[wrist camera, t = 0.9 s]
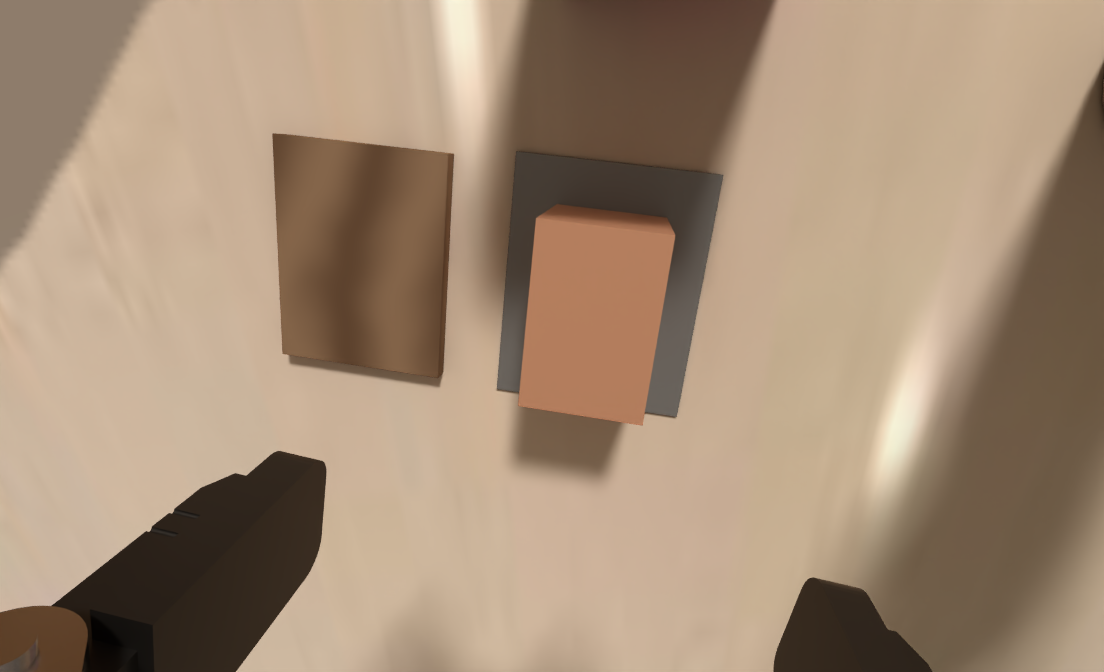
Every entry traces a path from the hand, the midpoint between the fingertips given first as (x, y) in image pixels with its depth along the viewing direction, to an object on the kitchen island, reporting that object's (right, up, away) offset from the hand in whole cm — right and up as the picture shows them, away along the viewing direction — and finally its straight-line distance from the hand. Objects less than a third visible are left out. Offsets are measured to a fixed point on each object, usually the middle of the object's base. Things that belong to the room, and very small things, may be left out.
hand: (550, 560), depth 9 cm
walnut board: (-11, +8, +25) cm, 28 cm away
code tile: (+3, +6, +23) cm, 24 cm away
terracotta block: (+3, +6, +23) cm, 24 cm away
